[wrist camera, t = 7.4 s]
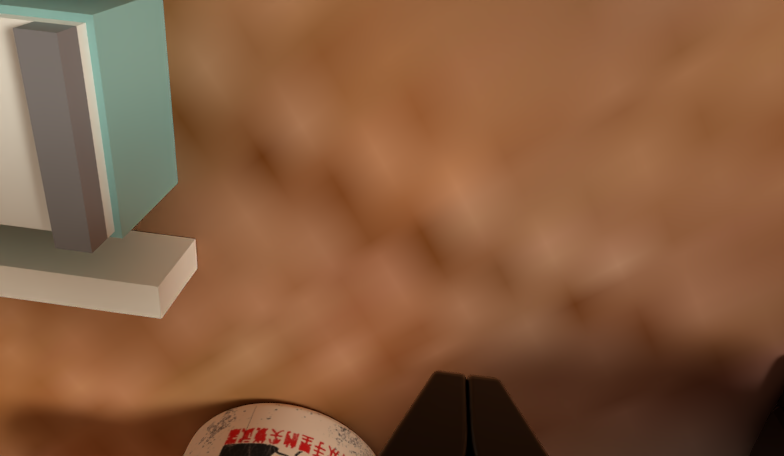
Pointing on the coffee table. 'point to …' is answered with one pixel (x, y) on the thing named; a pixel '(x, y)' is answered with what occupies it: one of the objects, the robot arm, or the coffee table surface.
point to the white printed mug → (275, 434)
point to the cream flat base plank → (97, 271)
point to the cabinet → (84, 117)
